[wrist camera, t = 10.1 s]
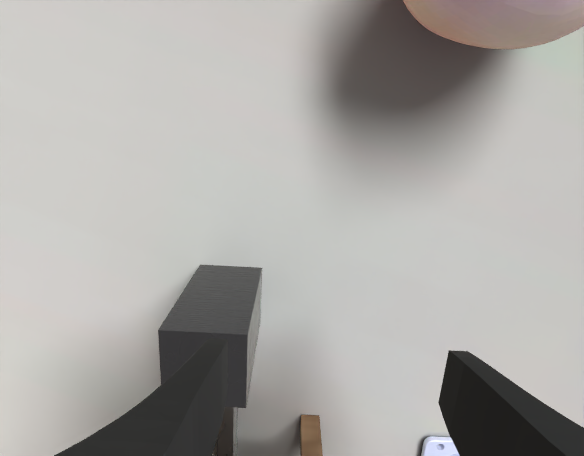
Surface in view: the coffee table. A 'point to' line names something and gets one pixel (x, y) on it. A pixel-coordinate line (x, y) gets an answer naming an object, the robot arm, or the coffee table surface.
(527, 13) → the decorative fruit
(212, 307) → the dark grey mallet
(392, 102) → the coffee table surface
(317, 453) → the stand
